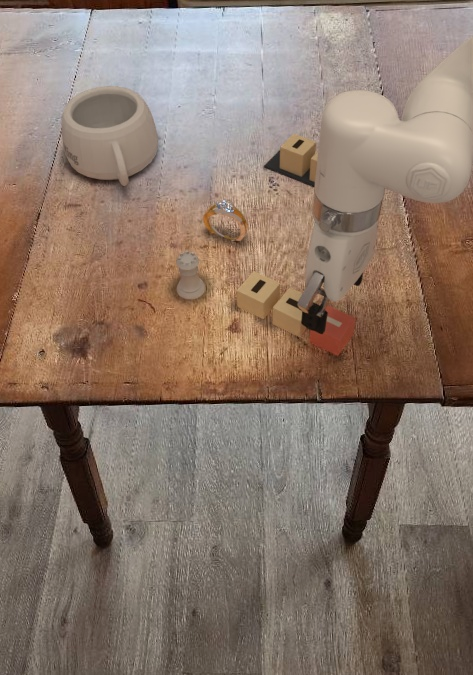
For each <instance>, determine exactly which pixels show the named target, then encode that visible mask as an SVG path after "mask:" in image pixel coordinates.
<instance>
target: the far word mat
mask: <svg viewBox="0 0 473 675" xmlns="http://www.w3.org/2000/svg"><path fill="white" fill-rule="evenodd" d="M316 148H317V141H316V140H313V139H310V138H308V137H304V136H302V135H299V134H297V133H293V134H292V135H291V136H289V138H288V139H286V140H285V141H284V143H283V144H282V145H281V146H280V147H279V150H278V151H277V152H276V153H275V154H274V155H273V156H272V157H270V159H269V160H268V161H267V162H266V163H265V164H264V165H263V168H265V169H267V170H270V171H272V172H274V173H277V174H280V175H282V176H285V177H287V178H290V179H293V180H295V181H297V182H299V183H302V184H304V185H305V184H306V185H308V186H311V187H313V188H314V187H315V177H316V168H317V158H318V151H316Z"/></svg>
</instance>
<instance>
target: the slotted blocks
mask: <svg viewBox="0 0 473 675" xmlns="http://www.w3.org/2000/svg"><path fill="white" fill-rule="evenodd" d="M302 294H303V292H300V291H298V290H296V289H294V288H293V287H288V288H287V290H286V291H285V292H284V293H283V295H282V296H281V282H279V281H277V280H276V279H275V280H274V279H273V278H270V277H269V276H266V275H264V274H261V273H260V272H257V271H255V270H253V271H252V272H251V273H250V274H249V276H248V277H246V279H245V280H244V281H243V282H242V284H241V285H240V286H238V288H237V289H236V307H237V308H239V309H241V310H243V311H245V312H247V313H248V314H251V315H253V316H255V317H257V318H259V319H261V320H264V319H265V318H266V317H267V316H268V314H270V313H271V311H272V325H273V326H276V327H278V328H280V329H282V330H284V331H286V332H288V333H290V334H292V335H294V336H296V337H298V338H301V337H302V335H303V334H304V333H305V331H306V330H307V329H308V328H306V327H305V326H303V325H302V324H301V319H302V311H301V310H299V307H298V305H297V303H298V301H299V299H300V297H301V295H302ZM313 302H314V303H316V304H318V299H316V298H314V301H313Z"/></svg>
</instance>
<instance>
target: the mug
mask: <svg viewBox="0 0 473 675" xmlns="http://www.w3.org/2000/svg"><path fill="white" fill-rule="evenodd" d="M61 141H62V147H63V152H64V154H65V157H66V158H67V161H68V162H69V164H70V166H71V168H73V170H75V171H76V172H77V173H79V174H81V175H82V176H84V177H88V178H91V179H95V180H101V181H113V180H118V181H119V183H120V184H121V186H124V187H126V186H127V185H129V181H130V180H129V177H131V176H133V175H136V174H137V173H139V172H141V171H142V170H144V169H145V168H146V167H147V166H149V165H150V164H151V163H152V162H153V160H154V159H155V157H156V155H157V152H158V147H159V137H158V131H157V127H156V123H155V120H154V117H153V114H152V112H151V110H150V107H149V105H148V104H147V102H146V101H145V99H144V98H143V97H142V96H141V95H140V94H139V93H138V92H136V91H135V90H132V89H130V88H128V87H124V86H116V85H105V86H97V87H94V88H90V89H86V90H84V91H82V92H80V93H77V94H76V95H74V96H73V97H71V98H70V100H69V101H68V102H67V103H66V105H65V106H64V109H63V112H62V114H61Z"/></svg>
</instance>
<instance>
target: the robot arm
mask: <svg viewBox="0 0 473 675" xmlns="http://www.w3.org/2000/svg"><path fill="white" fill-rule="evenodd" d="M317 149H318V150H317V152H318V158H317V168H316V177H315V187H313V188H314V189H313V190H314V191H313V196H312V197H313V199H312V205H311V206H312V208H311V214H312V218H313V220H314V223H313V227H312V231H311V235H310V240H309V244H308V245H309V246H308V250H307V253H306V254H307V255H306V260H305V268H304V287H305V288H304V290H303V292H302V293H303V294H302V295H301V297H300V299H299V301H298V303H297V305H298V307H299V310H301V311H302V319H301V324H302V325H303V326H305V327H306V328H307V329H308V330H309V331H310V330H312V331H315V332H317V333H319V334H323V333H324V332H325V328H326V321H327V315H328V312H327V311H326V308H327V305H329V303H330V302H333V303H337V302H340V301H341V300H343V299H344V298H345V296H346V295H347V294H348V292H349V291H350V290H351V289H352V287H353V286H355V287H360V285H361V284H362V282H363V278H364V277H363V276H364V272H365V271H366V270H367V268H368V266H369V265H370V263H371V261H372V260H373V258H374V256H375V255H374V254H375V249H376V244H377V236H378V229H379V222H380V216H381V211H382V206H383V201H384V196H385V192H386V190H388V191H391V192H393V193H396V194H398V195H401V196H402V197H405V198H408V199H410V200H413V201H416V202H421V203H423V204H424V203H425V204H433V205H434V204H437V205H438V204H445V203H447V202H450V201H452V200H454V199H456V198H457V197H459V196H460V195H461V194H462V193H463V192H464V191H465V190H466V188H467V187H468V184H469V182H470V179H471V176H472V171H473V35H471V36H470V37H468V39H466V40H465V41H464V42H462V43H461V44H460V45H458V47H457V48H455V49H454V50H453V51H452V52H450V54H449V55H447V56H446V57H445V58H444V59H442V61H441V62H439V64H437V65H436V66H435V67H434V68H433V69H431V71H429V72H428V73H427V74H426V76H424V77H423V78H422V79H421V80H420V81H419V83H418V84H416V86H415V87H414V88H413V90H412V92H411V93H410V94H409V96H408V98H407V100H406V102H405V105H404V107H403V111H402V115H401V118H400V117H399V114H398V111H397V108H396V106H395V104H394V103H393V102H392V101H391V100H390V99H388V97H385V96H384V95H382V94H380V93H379V92H376V91H372V90H367V89H352V90H346V91H343V92H341V93H338V94H336V95H335V96H333V97H332V98H330V100H328V102H327V103H326V105H325V106H324V108H323V110H322V114H321V118H320V127H319V139H318V148H317ZM322 286H323V288H322ZM317 295H320V296H322V297H323V298H322V300H321V302H320V304H318V303H317V304H316V303H314V302H313V301H314V299H316V297H317Z"/></svg>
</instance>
